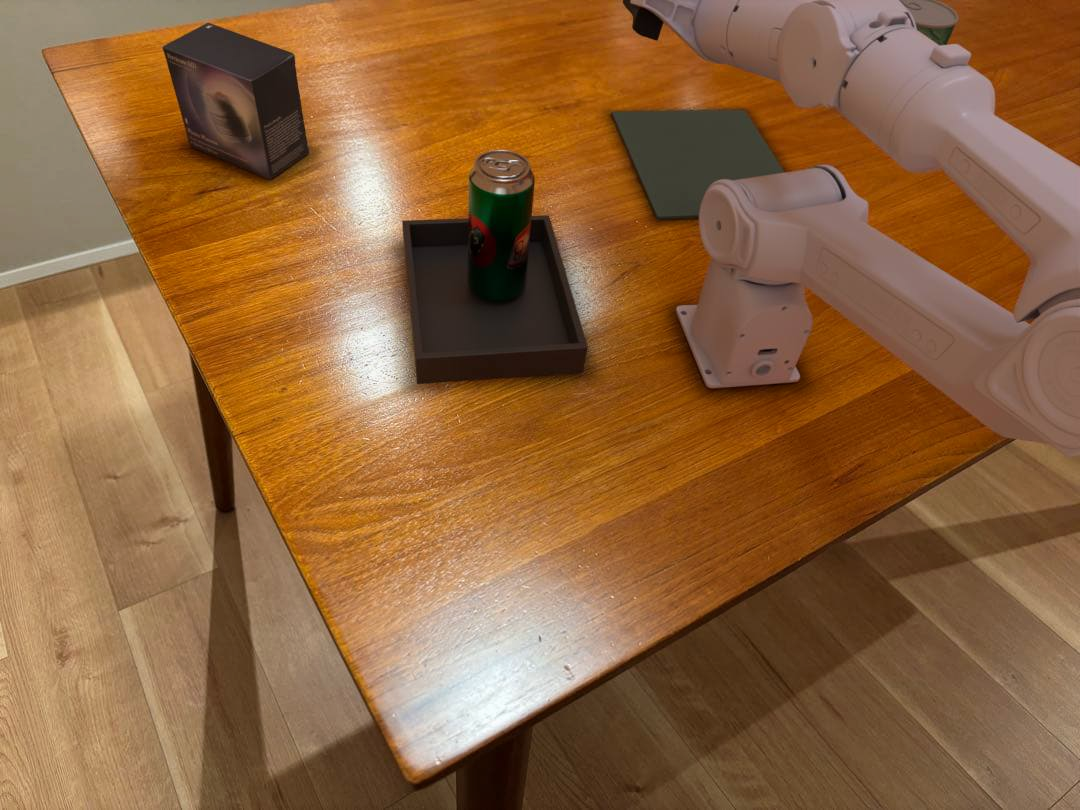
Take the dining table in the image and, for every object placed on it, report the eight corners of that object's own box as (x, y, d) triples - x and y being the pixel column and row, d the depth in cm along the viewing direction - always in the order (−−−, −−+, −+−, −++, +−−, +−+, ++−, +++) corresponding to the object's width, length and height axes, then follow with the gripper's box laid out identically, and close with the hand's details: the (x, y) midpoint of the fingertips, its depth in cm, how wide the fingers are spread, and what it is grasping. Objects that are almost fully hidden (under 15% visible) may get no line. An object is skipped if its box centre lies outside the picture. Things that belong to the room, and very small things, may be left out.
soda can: (518, 310, 69) (528, 188, 60) (460, 299, 69) (461, 176, 60) (531, 274, 72) (541, 153, 63) (475, 263, 73) (478, 141, 64)
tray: (583, 372, 65) (588, 347, 63) (416, 384, 63) (415, 358, 61) (546, 240, 76) (549, 214, 74) (403, 246, 74) (402, 220, 72)
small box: (184, 148, 82) (156, 44, 74) (230, 121, 86) (207, 19, 78) (269, 183, 79) (248, 78, 71) (312, 152, 83) (297, 50, 75)
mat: (808, 214, 82) (810, 211, 82) (656, 220, 80) (657, 216, 79) (743, 112, 95) (744, 109, 95) (611, 114, 93) (611, 111, 92)
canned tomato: (931, 114, 99) (974, 21, 90) (878, 122, 96) (918, 28, 88) (890, 82, 103) (927, -8, 95) (839, 89, 101) (873, -3, 93)
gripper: (863, -3, 58) (756, -21, 69) (698, -70, 52) (609, -79, 62) (821, 98, 61) (725, 65, 72) (660, 46, 55) (581, 19, 65)
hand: (669, 5), depth 67 cm, fingers open, 7 cm apart
